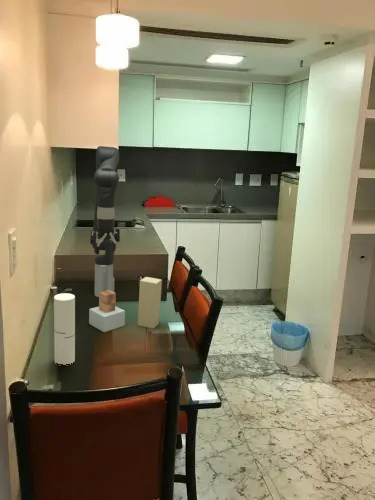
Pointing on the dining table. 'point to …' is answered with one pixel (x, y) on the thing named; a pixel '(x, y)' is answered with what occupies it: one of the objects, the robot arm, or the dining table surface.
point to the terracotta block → (107, 301)
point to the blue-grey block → (106, 319)
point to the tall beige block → (149, 302)
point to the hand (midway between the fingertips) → (105, 252)
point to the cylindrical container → (64, 328)
